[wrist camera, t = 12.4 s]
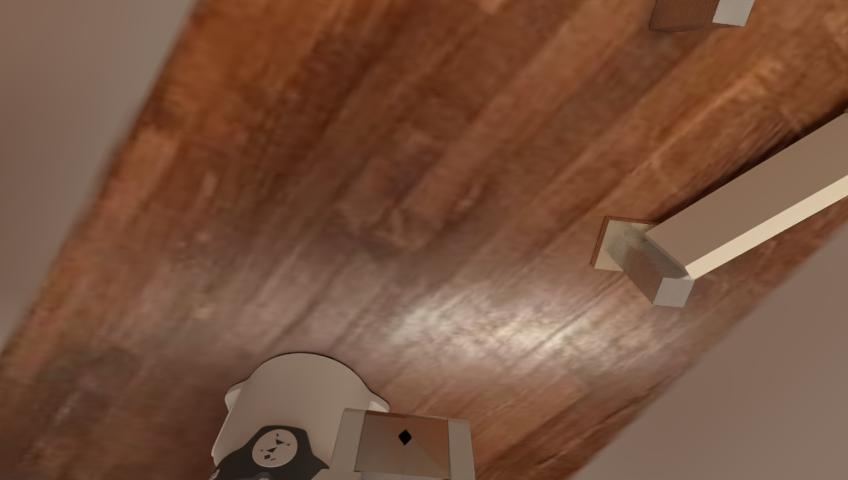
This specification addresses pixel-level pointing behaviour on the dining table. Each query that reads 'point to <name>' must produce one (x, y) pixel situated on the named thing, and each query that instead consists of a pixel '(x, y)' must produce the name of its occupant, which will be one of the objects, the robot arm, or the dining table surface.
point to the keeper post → (699, 14)
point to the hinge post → (641, 261)
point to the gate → (759, 202)
